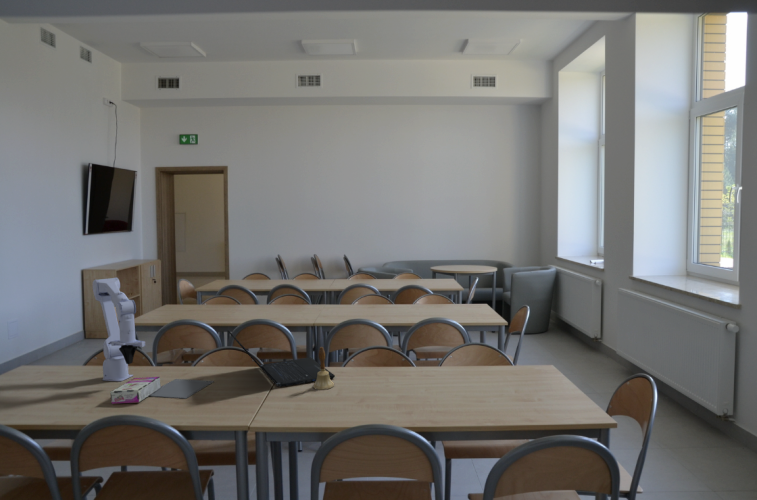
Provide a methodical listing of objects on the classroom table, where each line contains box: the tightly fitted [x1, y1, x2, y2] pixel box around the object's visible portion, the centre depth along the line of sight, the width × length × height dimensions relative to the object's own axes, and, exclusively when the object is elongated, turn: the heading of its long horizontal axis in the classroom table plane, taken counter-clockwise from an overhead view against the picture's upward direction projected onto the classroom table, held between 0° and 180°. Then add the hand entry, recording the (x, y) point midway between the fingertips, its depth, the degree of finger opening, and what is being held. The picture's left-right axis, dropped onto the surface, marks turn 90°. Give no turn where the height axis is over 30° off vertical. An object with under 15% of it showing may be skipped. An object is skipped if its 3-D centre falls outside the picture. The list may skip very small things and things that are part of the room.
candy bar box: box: [109, 376, 162, 405], centre depth 207 cm, size 11×5×16 cm
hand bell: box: [312, 346, 335, 391], centre depth 211 cm, size 8×8×16 cm
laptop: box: [227, 329, 335, 388], centre depth 228 cm, size 33×38×19 cm
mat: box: [148, 378, 215, 400], centre depth 215 cm, size 18×20×1 cm
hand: (129, 363), depth 219 cm, fingers closed
